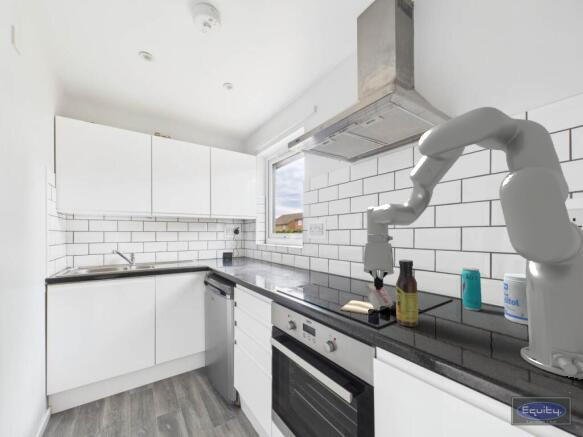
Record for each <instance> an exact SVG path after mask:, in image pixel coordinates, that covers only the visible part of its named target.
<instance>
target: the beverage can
mask: <svg viewBox="0 0 583 437" xmlns="http://www.w3.org/2000/svg"><path fill="white" fill-rule="evenodd" d="M481 283H482V280H481V272H480V268H475V267H462V270H461V289H462V305H463V307H464V309H466V310H469V311H472V312H473V311H475V312H477V311H481V308H482V306H483V304H482V301H483V300H482V288H481V287H482V284H481Z"/></svg>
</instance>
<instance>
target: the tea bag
mask: <svg viewBox="0 0 583 437" xmlns="http://www.w3.org/2000/svg"><path fill="white" fill-rule="evenodd" d="M365 289H366V295H367V298H368V300H369V303H371V304H372V306H373V308H374V309H377V310H380V307H381V306H386V307H389V308H391V307H392V305H393V306H394V305H395V304H394V302H393V300H392V299H391V297H390V295H389V294H388V291H387V290H386V289H385V288H384V287H383V288H382V289H381V290H376V287H374V282H370V283H365Z"/></svg>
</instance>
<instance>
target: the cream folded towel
mask: <svg viewBox="0 0 583 437" xmlns="http://www.w3.org/2000/svg"><path fill="white" fill-rule="evenodd" d="M369 309H374V308H373V306H372V304H371V302H370V301H367V302H366V301H363V300H362V301H360V300H354V299H352V300H350V301H349V302H348V303H346V304H345V305H343V306H342V307H340V309H339V310H340V311H341V310H343V311H342V312H347V311H350V312H349V313H354V312H355V313H356V314H360V313H361V314H360V315H366V314H368V310H369Z"/></svg>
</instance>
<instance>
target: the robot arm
mask: <svg viewBox="0 0 583 437" xmlns="http://www.w3.org/2000/svg"><path fill="white" fill-rule="evenodd" d="M472 145H476V146H478V147H480V148H483V149H485V150H491V151H493V150H494V151H500V152H501V151H502V152H504V153H505V156H506V157H505V159H506V165H507V168H508V171H509V173H508V174H507V175H506V176H505V177H504V178H503V180H502V181H501V183H500V186H499V190H498V192H499V194H498V196H499V202H500V207H501V210H502V215H503V219H504V222H505V226H506V230H507V236H508V238H509V242H510V245H511V247H512V248H513V250H514V251H515V252H516V254H518V255H519V256H520V257H522V258H524V259H525V274H526V296H527V313H528V325H527V326H528V342H529V343H528V344H529V345H528V346H524V347H522V348H521V349H520V356H521V357H522V359H523V360H525V361H526V362H527V363H529V364H530V365H532V366H535V367H536V368H539V369H541V370H544V371H546V372H550V373H552V374H555V375H559V376H563V377H566V376H568V377H567V378H570V377H574V378H573V379H575V378H578V379H577V380H581V379H583V229H582V228H581V227H580V226H578V225H577V224H576V223H575V222H573V221H571V220H570V216H569V213H568V209H567V206H566V201H567V199H568V197H569V194H570V188H569V185H568V182H567V180H566V177H565V175H564V172H563V170H562V165H561V163H560V159H559V155H558V154H557V151H556V148H555V145H554V141H553V139H552V136H551V134H550V132H549V131H548V129H547V128H546V127H545V126H543V125H542V124H540V123H538V122H537V121H533V120H529V119H521V118H513V117H511V116H510V115H507V114H506V113H504V112H503V111H502V110H500V109H498V108H496V107H493V106H482V107H478V108H474V109H472V110H470V111H467V112H464V113H462V114H459V115H457V116H455V117H453V118H451V119H448V120H446V121H444V122H441V123H438V124H437V125H435V126H433V127H430V128H429V129H428V130H427V131H425V132H424V133H423V134H422V136H421V137H420V139H419V140H418V145H417V147H418V151H419V153H420V154H421V156H422V157H421V158H420V160H419V161H418V163H417V164H416V165H415V166H414V168H413V169H412V170H411V172H410V173H409V179H410V181H411V182H412V185H413V188H412V193H411V194H410V196H409V197H408V198H407V200H406V201H405V203H404V204H401V203H399V204H398V203H387V204H383V205H377V206H376V205H375V206H369V207H368V208H367V209H366V235H367V236H366V237H367V238H366V239H367V240H366V242H365V245H364V251H363V252H364V253H363V273H367V274H369V275H370V276H371V277H372V278H373V283H374V287H376V290H381V289H382V288H384V278H386V276H390V275H393V274H394V273H395V270H394V266H395V265H394V253H393V252H394V250H393V247H392V243H389V242H390V241H394V239H393V238H394V237H393V236H391V235H390V234H389V226H403V227H404V226H410V225H412V224H413V223H415V222H416V221H417V220H418V219H419V218H420V217H421V216H422V214H423V213H424V212H425V211H426V210H427V208H428V207H429V205H430V202H431V199H432V198H433V195H434V193H433V192H434V189H435V188H436V186H437V185H438V184H439V183H440V181H441V180H442V179H443V178H444V176H445V175H446V174H447V173H448V172H449V171H450V169H452V167H453V166H454V164H455V163H456V162H457V161H458V160H459V159H460V157H461V156H462V154H463V153H464V151H465V148H466V147H469V146H472ZM378 271H379V274H378Z"/></svg>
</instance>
